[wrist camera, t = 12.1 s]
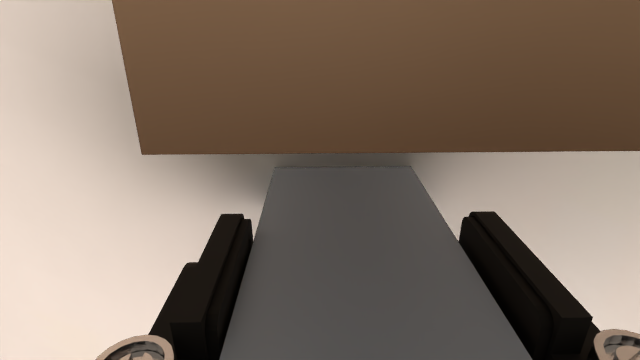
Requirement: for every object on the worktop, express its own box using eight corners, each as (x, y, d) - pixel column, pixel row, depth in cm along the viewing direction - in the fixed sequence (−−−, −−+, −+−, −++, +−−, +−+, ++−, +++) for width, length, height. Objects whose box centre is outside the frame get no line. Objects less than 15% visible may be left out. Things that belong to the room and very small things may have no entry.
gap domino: (275, 166, 14) (196, 441, 5) (410, 165, 14) (582, 438, 5) (277, 214, 15) (212, 529, 6) (405, 213, 15) (546, 526, 6)
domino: (265, -15, 12) (86, -137, 2) (429, -15, 12) (845, -138, 3) (269, 54, 12) (141, 154, 3) (422, 53, 13) (722, 149, 3)
